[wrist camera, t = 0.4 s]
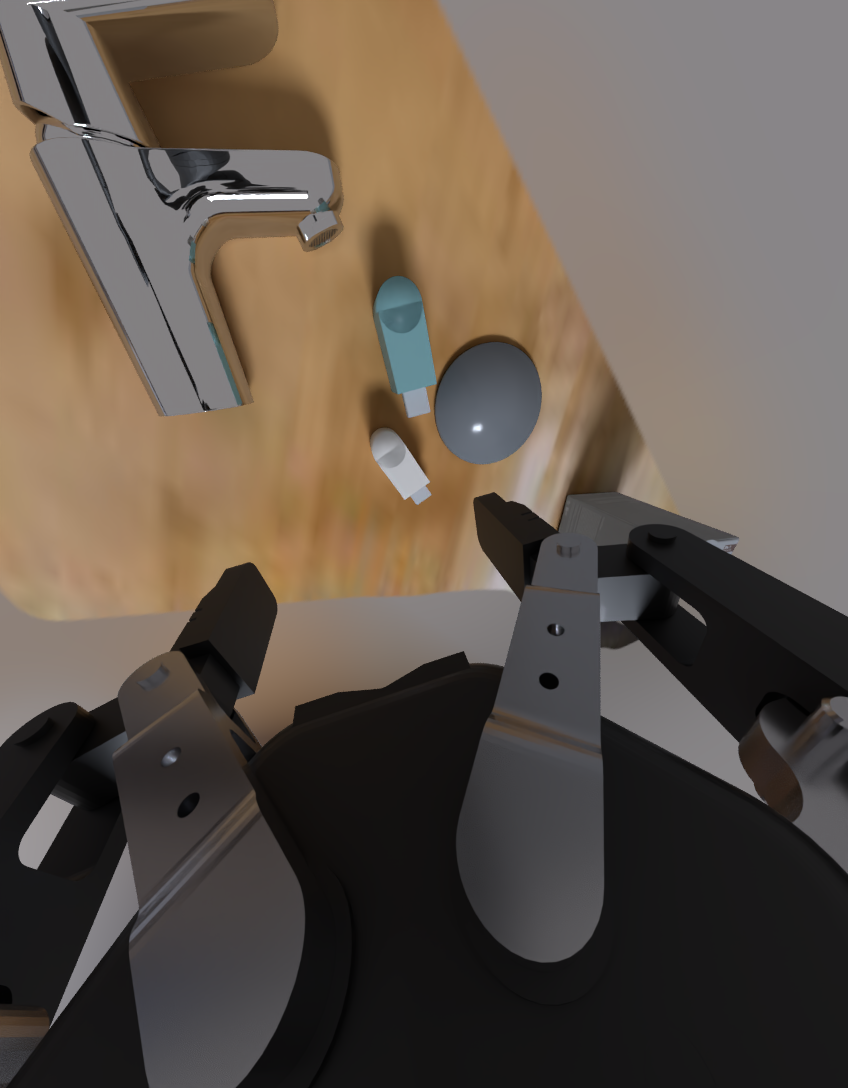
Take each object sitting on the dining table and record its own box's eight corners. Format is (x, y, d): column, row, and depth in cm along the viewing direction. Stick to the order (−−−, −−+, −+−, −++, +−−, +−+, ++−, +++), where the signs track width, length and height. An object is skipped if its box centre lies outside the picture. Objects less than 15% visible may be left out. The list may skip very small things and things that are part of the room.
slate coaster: (423, 359, 30) (424, 358, 30) (537, 329, 31) (540, 328, 31) (445, 474, 36) (447, 476, 36) (539, 447, 37) (542, 448, 37)
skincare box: (554, 535, 44) (645, 607, 31) (567, 487, 41) (676, 545, 27) (605, 532, 46) (711, 599, 33) (621, 485, 43) (748, 539, 29)
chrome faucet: (141, 420, 22) (-145, -119, 12) (178, 410, 28) (7, 42, 18) (380, 388, 26) (312, -54, 16) (369, 385, 32) (314, 64, 21)
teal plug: (367, 294, 27) (370, 282, 23) (406, 285, 27) (416, 271, 23) (397, 416, 32) (404, 422, 28) (430, 407, 33) (441, 412, 29)
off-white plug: (363, 439, 33) (365, 447, 29) (388, 421, 32) (393, 427, 29) (408, 500, 37) (415, 513, 34) (430, 484, 37) (439, 496, 33)
